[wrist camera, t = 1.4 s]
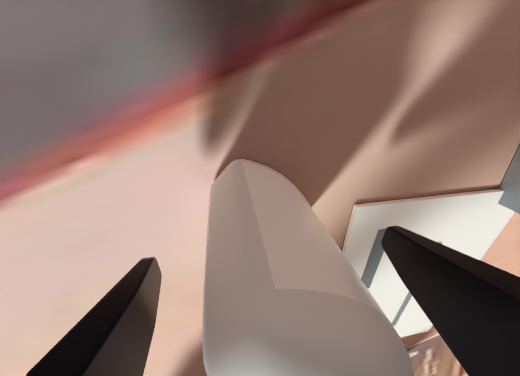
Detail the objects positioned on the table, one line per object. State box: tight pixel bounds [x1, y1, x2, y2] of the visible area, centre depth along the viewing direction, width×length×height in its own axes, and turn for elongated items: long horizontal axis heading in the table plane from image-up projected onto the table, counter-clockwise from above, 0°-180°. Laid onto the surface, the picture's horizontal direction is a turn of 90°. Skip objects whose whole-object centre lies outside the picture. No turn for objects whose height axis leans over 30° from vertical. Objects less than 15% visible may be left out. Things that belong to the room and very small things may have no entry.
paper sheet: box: [342, 189, 515, 337], centre depth 18 cm, size 18×13×1 cm
